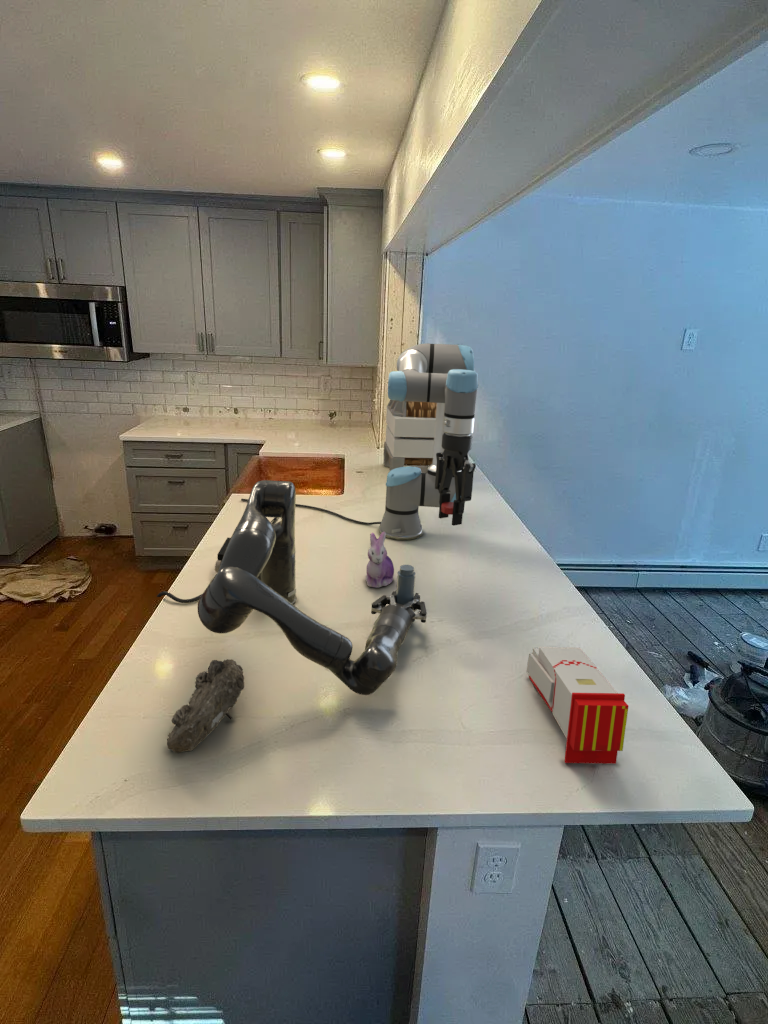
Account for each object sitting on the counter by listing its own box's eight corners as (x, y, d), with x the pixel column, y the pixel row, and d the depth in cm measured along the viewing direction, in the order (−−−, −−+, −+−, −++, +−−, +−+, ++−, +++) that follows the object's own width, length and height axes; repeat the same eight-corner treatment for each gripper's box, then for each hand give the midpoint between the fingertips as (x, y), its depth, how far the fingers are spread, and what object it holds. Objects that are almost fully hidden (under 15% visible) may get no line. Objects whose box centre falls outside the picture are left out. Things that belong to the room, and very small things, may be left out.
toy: (575, 629, 125) (638, 701, 96) (569, 684, 128) (628, 771, 99) (520, 628, 125) (567, 700, 96) (515, 683, 128) (560, 770, 98)
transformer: (382, 463, 289) (386, 382, 275) (445, 464, 293) (451, 384, 279) (390, 482, 257) (394, 392, 243) (460, 483, 261) (468, 394, 247)
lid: (446, 506, 152) (447, 500, 151) (464, 511, 149) (464, 504, 148) (437, 511, 148) (437, 505, 147) (454, 516, 145) (455, 509, 144)
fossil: (192, 660, 117) (244, 628, 112) (224, 691, 120) (276, 661, 115) (142, 746, 98) (202, 712, 93) (182, 779, 101) (242, 748, 96)
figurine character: (238, 584, 162) (249, 557, 175) (236, 562, 158) (247, 536, 172) (215, 584, 161) (227, 556, 175) (212, 561, 158) (225, 535, 171)
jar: (413, 627, 142) (417, 571, 136) (395, 627, 141) (398, 571, 136) (410, 618, 146) (414, 563, 141) (393, 618, 145) (396, 563, 140)
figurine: (372, 591, 158) (374, 542, 153) (357, 576, 166) (358, 529, 161) (402, 585, 162) (404, 537, 157) (385, 571, 171) (387, 524, 166)
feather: (288, 505, 226) (290, 501, 226) (271, 529, 199) (273, 524, 199) (284, 503, 226) (287, 499, 225) (266, 526, 199) (269, 522, 199)
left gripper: (360, 637, 131) (379, 603, 147) (420, 648, 128) (434, 612, 144) (361, 608, 129) (380, 576, 144) (422, 619, 125) (436, 585, 141)
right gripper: (424, 427, 147) (419, 512, 155) (468, 442, 132) (459, 534, 140) (448, 425, 150) (441, 508, 158) (493, 440, 136) (483, 530, 144)
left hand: (407, 594), depth 144 cm, fingers closed on jar, 4 cm apart
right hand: (450, 520), depth 149 cm, fingers closed on lid, 5 cm apart
